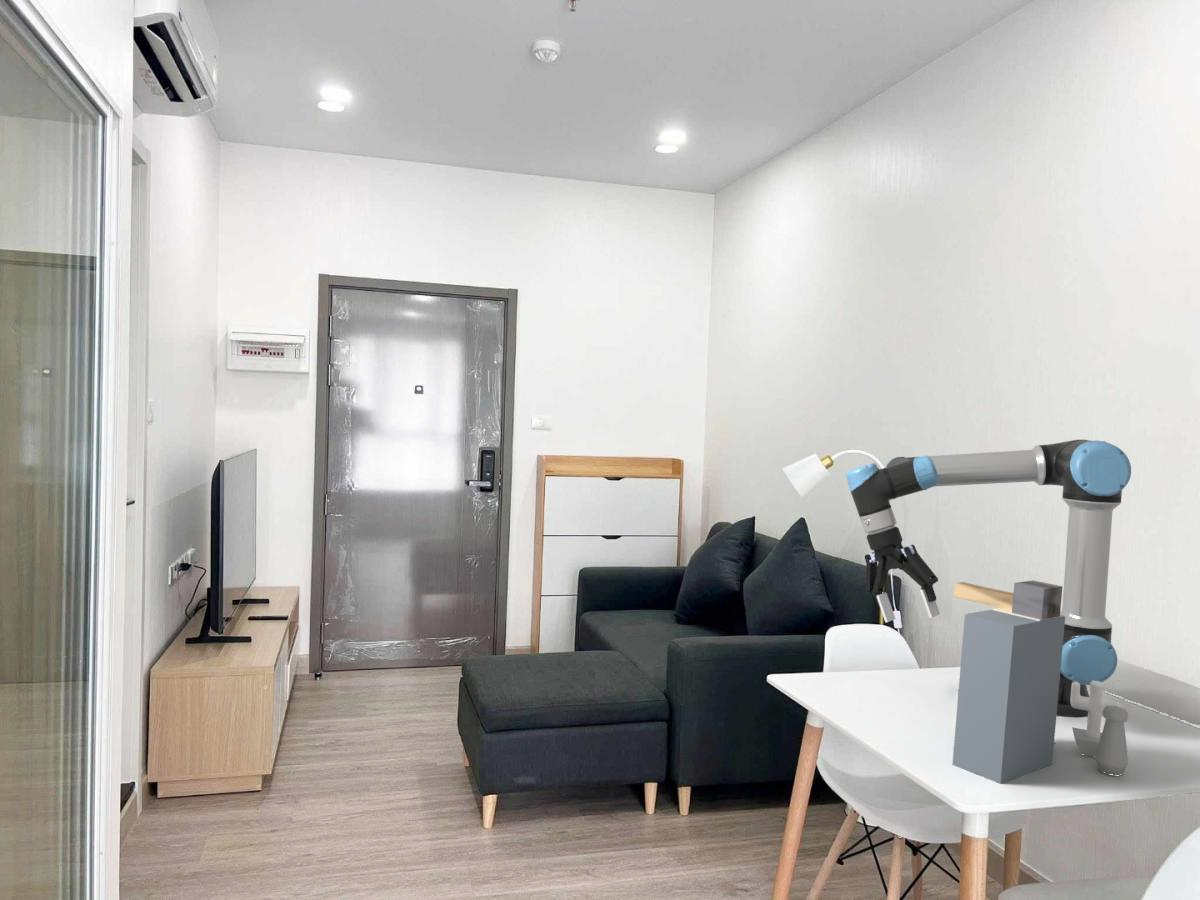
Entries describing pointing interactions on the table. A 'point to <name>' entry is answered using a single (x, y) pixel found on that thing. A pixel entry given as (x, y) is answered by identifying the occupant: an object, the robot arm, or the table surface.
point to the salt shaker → (1113, 742)
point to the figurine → (1090, 715)
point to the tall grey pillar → (1007, 693)
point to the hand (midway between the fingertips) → (912, 618)
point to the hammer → (1017, 598)
